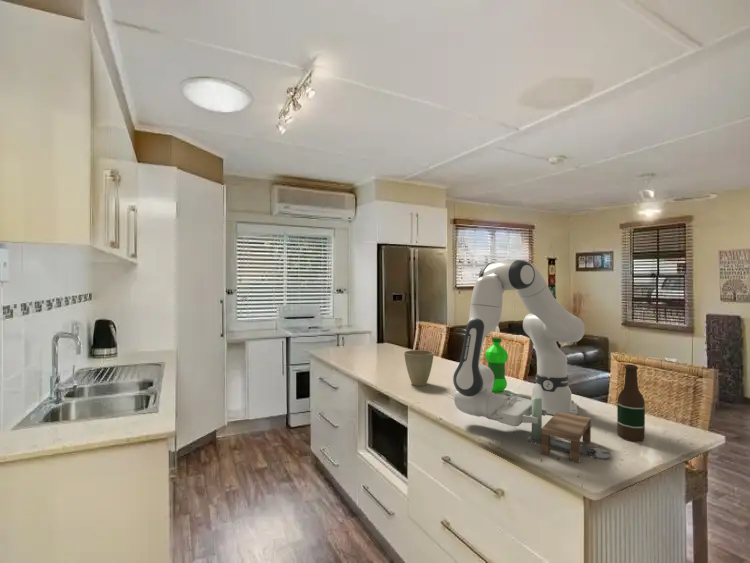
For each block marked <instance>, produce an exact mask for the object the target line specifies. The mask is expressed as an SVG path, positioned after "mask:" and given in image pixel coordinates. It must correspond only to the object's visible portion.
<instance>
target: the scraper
mask: <svg viewBox="0 0 750 563" xmlns="http://www.w3.org/2000/svg"><path fill="white" fill-rule="evenodd" d="M531 398H532V415H531V416H536V417H538V418H539V422H538V423H537V424H535V423H531V435H530V436H529V437H528V438H527V440H526V441H528V442H527V443H531V442H532V444H535V443H536V444H535V445H539V444H540V445H539V446H541V429H542V427H543V424H542V419H543V415H542V398H540V397H532V396H531ZM589 448H591V446H586V445H582V444H580V456H584V457H587V456H589V454H588V449H589ZM550 449H554V450H560V451H564V452H567V453H571V441H570V442H569V441H564V440H560V439H556V438H552V437H550Z"/></svg>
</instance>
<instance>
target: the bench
mask: <svg viewBox="0 0 750 563" xmlns="http://www.w3.org/2000/svg"><path fill="white" fill-rule="evenodd" d="M591 421H592V420H591V417H588V416H582V415H578V414H577V415H572V414H567V413H562V412H557V413H556V414H555V415H553V416H552V417H550V419H549V420H548V421H547V422H546V423H545V425H542V429H541V445H540V450H541V451H540V452H541V453H540V454H541V455H544V456H549V455H550V454H551V447H550V438H551V437H555V438H559V439H563V440H568V441H570V443H571V452H570V462H572V463H575V464H579V463H580V462H581V460H580V456H581V455H580V445H581V440H582V442H583V443H587V444H590V443H591V441H592V440H591V438H592V437H591V434H592V433H591V431H592V430H591V428H592V424H591V423H592V422H591Z"/></svg>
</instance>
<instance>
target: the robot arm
mask: <svg viewBox="0 0 750 563" xmlns="http://www.w3.org/2000/svg"><path fill="white" fill-rule="evenodd" d="M512 290H513V291H514V290H516V292H517V294H518V297H519V298H520V300H521V302H522V303H523V305H524V307H525V309H526V311H528V314H526V315H525V317H524V319H523V321H522V329H523V331H524V333H525V334H526V335H527V336H528V337H529V339H530V340H531V342H532V343H533V347H534V349H535V353H536V373H535V384H534V385H532V388H531V398H530V399H528V398H525V397H522V396H521V397H520V396H514V394H512V393H503V394H500V393H495V392H493V391H492V390H493V386H494V381H495V376H494V373H493V371H492V370H491V369H490V368H489V367H488V365H486V364H480V361H481V355H482V349H483V344H484V340H485V339H486V338H487V336H488V335H489V334H491V332H493V331H494V330H495V329H497V328H498V326H499V324H500V321H501V317H502V311H503V310H502V309H503V295H504V292H505V291H512ZM469 306H470V308H469V317H468V320H467V325H466V329H465V333H464V340H463V343H462V348H461V349H462V350H461V354H460V358H459V359H460V360H459V363H458V366H457V367H456V369H455V371H454V372H453V376H452V381H453V382H452V383H453V386H454V388H455V389H456V390H455V392H454V394H453V395H454V397H453V398H454V399H453V400H454V405H455V407H456V409H457V410H458V411H460V412H461V413H464V414H467V415H470V416H475V417H477V418H480V417H483V418H486V419H488V420H492V421H495V422H496V421H497V422H498V423H501V424H503V425H504V424H505V425H508V426H510V427H519V426H520V425H521V424H532V423H535V424H537V423H538V422H539V418H538V417H536V416H532V397H540V398H542V417H544V416H546V415H547V414H548V415H553V416H554V415H555V414H556V413H557V412H562V413H567V414H572V415H577V416H578V414H579V413H578V403H577V402H575V401H574V400H572V391H571V388H570V386H569V385H570V384H569V375H568V357H567V355H566V354H565V352H563V351H562V350H561V349H560V347H559V345H558V344H557V342H561V343H565V344H566V343H578V342H579V341H580V340H582V339H583V337H584V335H585V332H586V328H585V327H586V326H585V323H584V321H583V320H582V318H580V317H578V316H576V315H574V314H573V313H571V312H570V311H568V310H567V309H566V308H565V307H564V306H563V305H562V304H561V303H560V302H559V301H557V299H556V298H555V296H554V294H553V293H552V291H551V289H550V287H549V285H548V284H547V281H546V280H545V278H544V277H543V275H542V273H541V272H540V271H539V269H538V268H537V267H536V266H535V265H534V264H533V263H532V262H529V261H526V260H521V259H518V260H517V259H515V260H513V259H512V260H510V259H509V260H508V259H507V260H502V261H501V260H500V261H496V262H494V261H493V262H492V261H491V262H488V263H486V264H484V265H483V266H482V267H481V269H480V271H479V273H478V278H477V279H476V280H475V284H474V285H473V290H472V294H471V299H470V305H469Z"/></svg>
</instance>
